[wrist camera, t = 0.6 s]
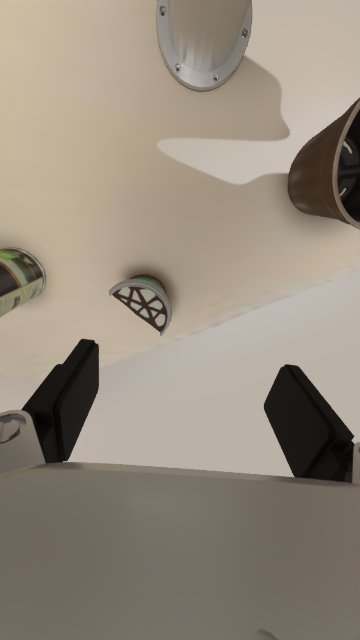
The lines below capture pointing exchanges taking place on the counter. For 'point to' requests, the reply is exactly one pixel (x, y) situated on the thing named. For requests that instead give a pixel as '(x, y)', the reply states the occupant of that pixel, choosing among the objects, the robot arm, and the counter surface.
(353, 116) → the plant pot
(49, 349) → the counter surface
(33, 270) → the coffee can
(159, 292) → the food container
